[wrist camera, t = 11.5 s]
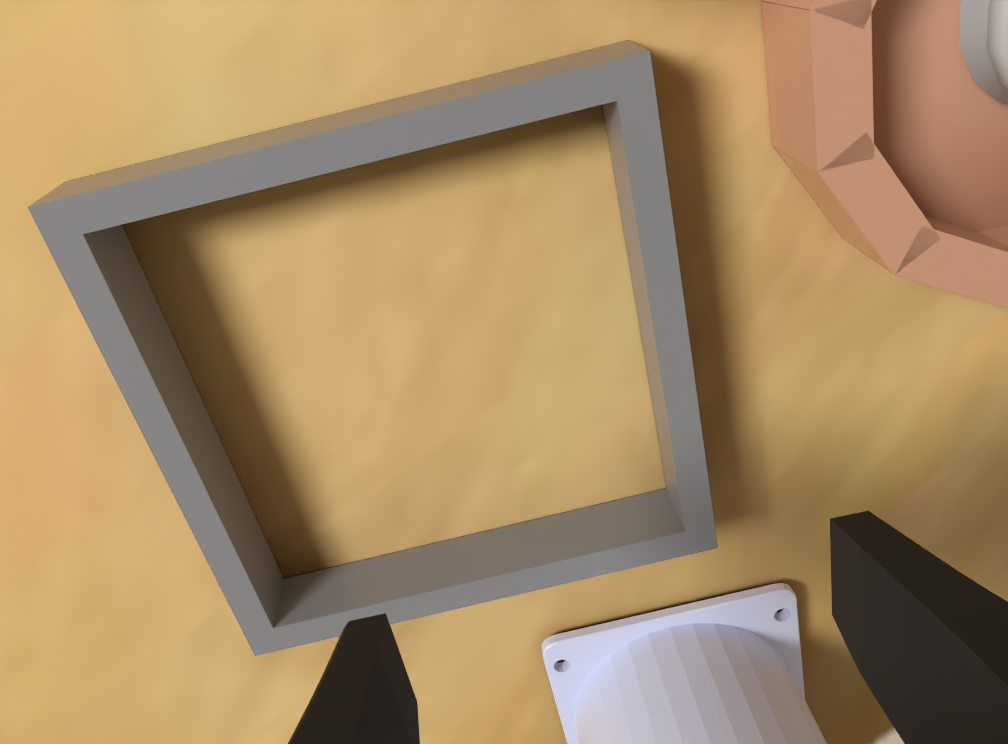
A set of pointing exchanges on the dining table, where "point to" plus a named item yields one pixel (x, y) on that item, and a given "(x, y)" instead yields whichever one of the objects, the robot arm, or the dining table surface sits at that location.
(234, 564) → the grey square frame
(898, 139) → the bowl
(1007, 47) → the rook chess piece
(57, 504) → the dining table surface
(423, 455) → the dining table surface
